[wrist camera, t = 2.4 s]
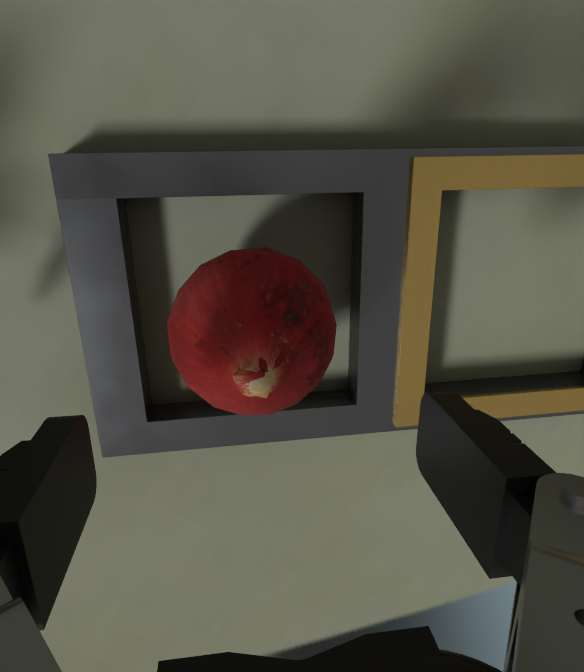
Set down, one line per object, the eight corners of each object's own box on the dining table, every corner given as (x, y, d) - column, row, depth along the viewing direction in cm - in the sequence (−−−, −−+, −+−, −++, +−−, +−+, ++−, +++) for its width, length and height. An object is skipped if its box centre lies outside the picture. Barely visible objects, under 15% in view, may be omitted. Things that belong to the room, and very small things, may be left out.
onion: (245, 203, 19) (262, 229, 11) (341, 299, 21) (409, 374, 13) (148, 306, 20) (106, 393, 12) (249, 389, 22) (265, 507, 14)
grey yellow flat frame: (61, 154, 17) (45, 153, 16) (670, 145, 21) (707, 144, 19) (110, 438, 22) (101, 460, 20) (610, 394, 25) (637, 410, 23)
